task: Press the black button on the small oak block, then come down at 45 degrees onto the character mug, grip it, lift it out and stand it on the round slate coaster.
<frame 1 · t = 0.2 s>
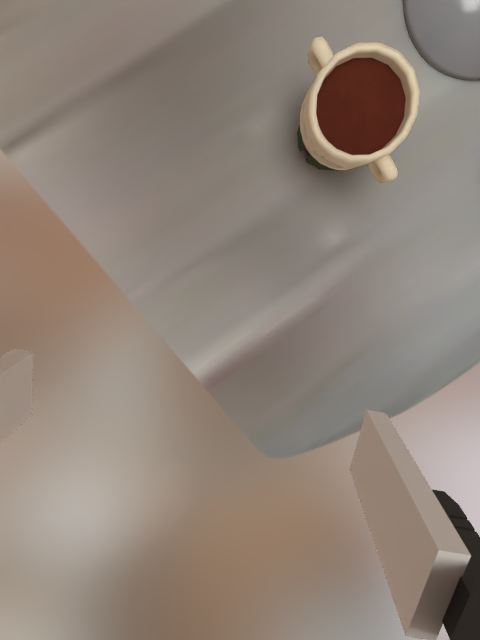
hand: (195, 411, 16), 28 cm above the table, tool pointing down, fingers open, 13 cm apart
character mug: (329, 136, 39), on the table
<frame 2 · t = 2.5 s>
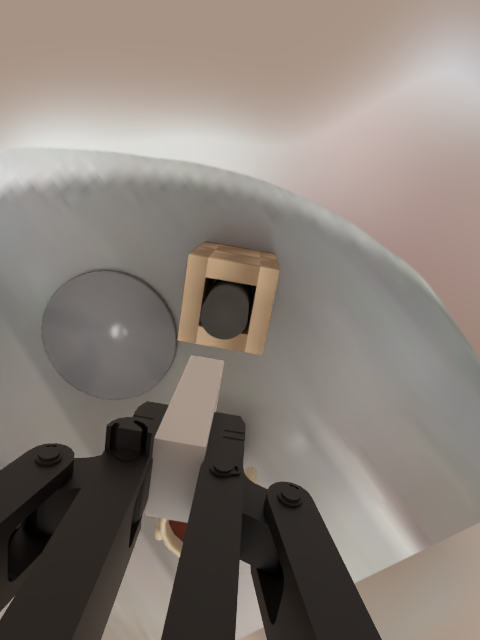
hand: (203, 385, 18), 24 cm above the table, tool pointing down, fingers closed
character mug: (216, 443, 47), on the table
coaster: (111, 335, 44), on the table
release button: (228, 300, 34), point 8 cm above the table, slide at 0.0 cm
button block: (234, 282, 41), on the table
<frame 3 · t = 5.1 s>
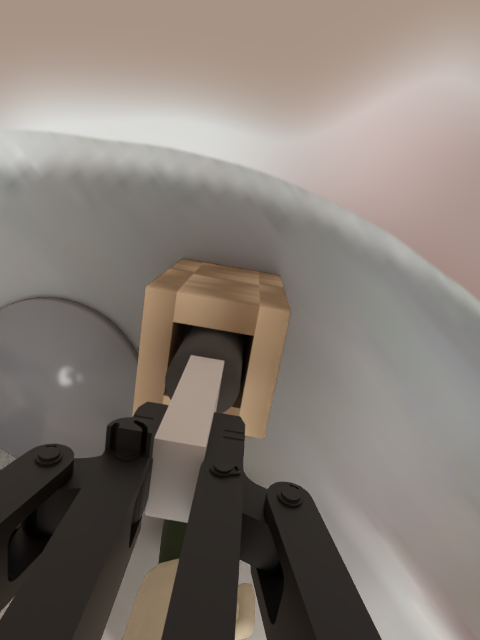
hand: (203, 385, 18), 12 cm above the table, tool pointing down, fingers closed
character mug: (201, 521, 36), on the table
coaster: (58, 384, 32), on the table
release button: (213, 346, 23), point 7 cm above the table, slide at 0.9 cm, touching gripper
button block: (223, 313, 30), on the table
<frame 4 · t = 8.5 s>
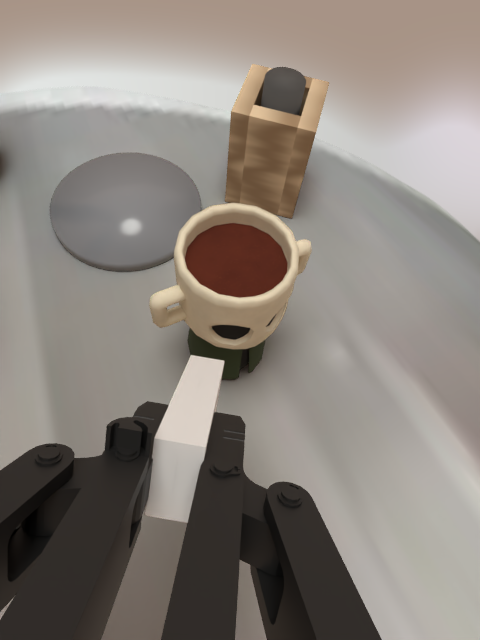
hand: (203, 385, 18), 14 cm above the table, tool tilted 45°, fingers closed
character mug: (225, 347, 34), on the table
coaster: (129, 212, 40), on the table
release button: (275, 133, 37), point 6 cm above the table, slide at 1.6 cm
button block: (266, 186, 43), on the table
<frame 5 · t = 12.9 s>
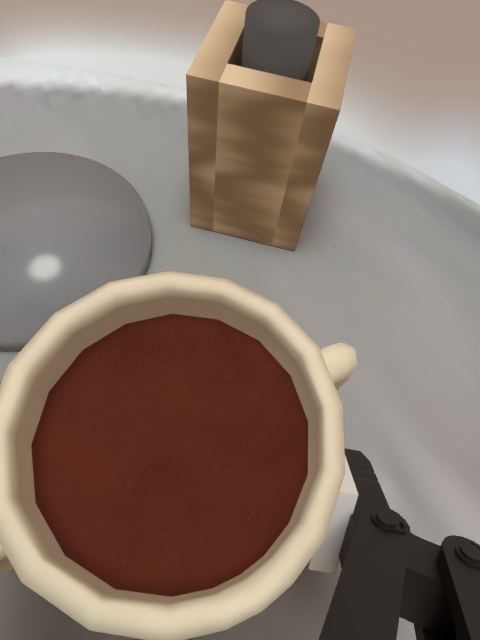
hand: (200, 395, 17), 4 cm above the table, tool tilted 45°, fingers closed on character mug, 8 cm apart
character mug: (187, 489, 20), on the table, touching gripper
coaster: (36, 246, 25), on the table
release button: (267, 117, 23), point 6 cm above the table, slide at 1.6 cm
button block: (253, 200, 28), on the table
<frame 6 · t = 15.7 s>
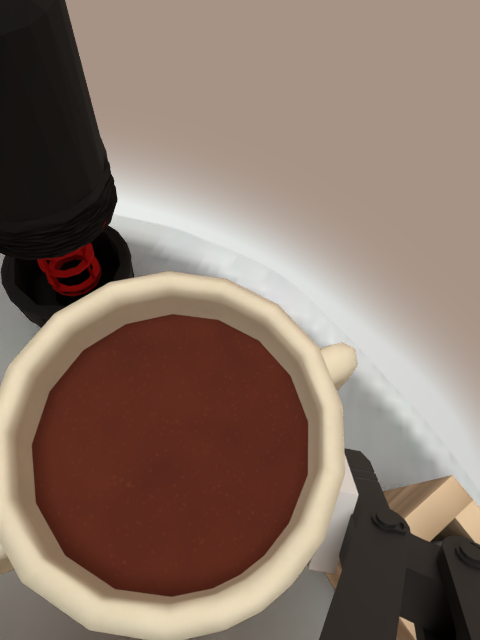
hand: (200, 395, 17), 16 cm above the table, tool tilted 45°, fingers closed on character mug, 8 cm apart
character mug: (187, 490, 20), point 11 cm above the table, touching gripper
release button: (423, 574, 23), point 6 cm above the table, slide at 1.6 cm
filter: (87, 326, 36), on the table
button block: (379, 566, 29), on the table
when the fingers open (7 cm above the table, at t = 18.4 s): character mug drops 1 cm, resting on coaster.
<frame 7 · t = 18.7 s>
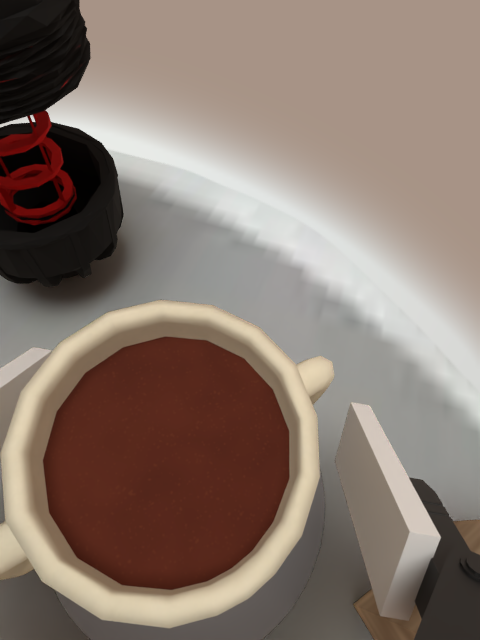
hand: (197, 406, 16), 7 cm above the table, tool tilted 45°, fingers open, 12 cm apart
character mug: (184, 493, 21), point 1 cm above the table, touching coaster
coaster: (188, 493, 22), on the table
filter: (61, 280, 27), on the table
button block: (453, 632, 20), on the table
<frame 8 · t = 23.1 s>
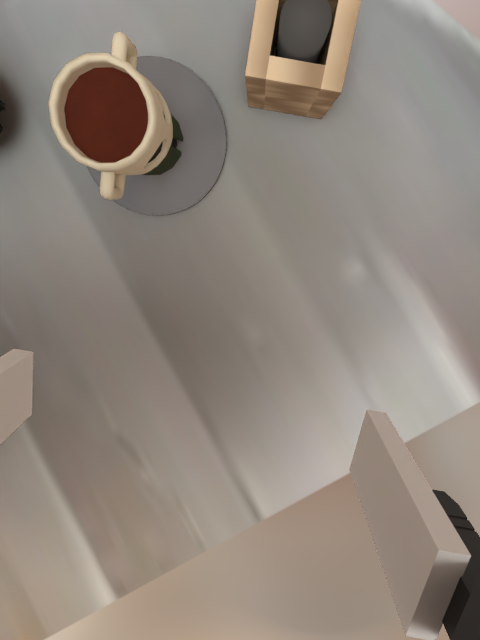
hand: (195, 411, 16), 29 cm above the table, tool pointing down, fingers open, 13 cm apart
character mug: (152, 141, 39), point 1 cm above the table, touching coaster
coaster: (155, 141, 40), on the table
release button: (298, 46, 32), point 6 cm above the table, slide at 1.6 cm
button block: (292, 71, 38), on the table
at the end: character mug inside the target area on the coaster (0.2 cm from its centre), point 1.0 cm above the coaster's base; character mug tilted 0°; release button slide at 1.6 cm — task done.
